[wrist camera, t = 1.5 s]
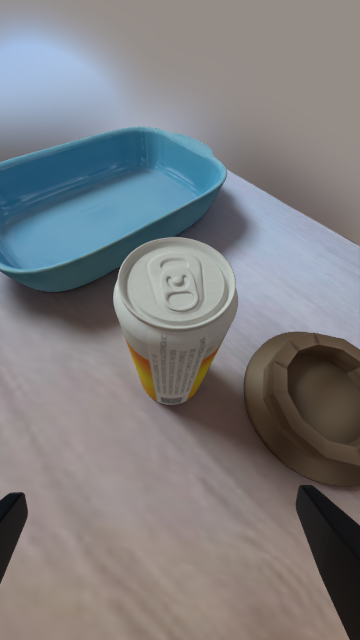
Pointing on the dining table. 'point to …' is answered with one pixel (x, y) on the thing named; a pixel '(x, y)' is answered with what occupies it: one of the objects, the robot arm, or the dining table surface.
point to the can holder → (308, 404)
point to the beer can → (174, 313)
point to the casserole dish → (99, 203)
